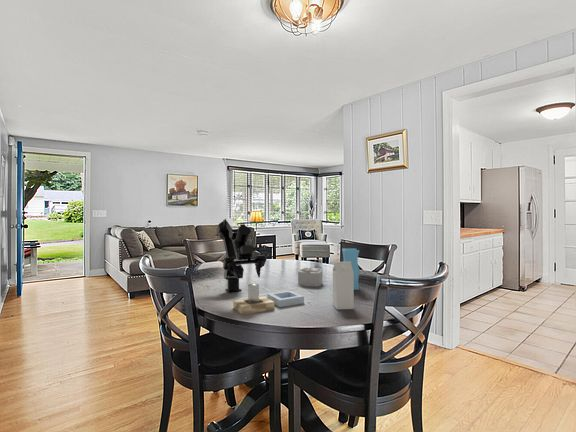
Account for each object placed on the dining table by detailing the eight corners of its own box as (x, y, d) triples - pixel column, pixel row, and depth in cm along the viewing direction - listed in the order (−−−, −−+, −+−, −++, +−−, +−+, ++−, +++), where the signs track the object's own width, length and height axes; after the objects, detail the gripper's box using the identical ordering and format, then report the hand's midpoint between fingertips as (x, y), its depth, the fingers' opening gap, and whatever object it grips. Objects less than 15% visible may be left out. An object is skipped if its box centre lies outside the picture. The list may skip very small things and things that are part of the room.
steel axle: (246, 308, 137) (246, 284, 137) (256, 306, 139) (256, 282, 139) (250, 310, 134) (250, 286, 133) (260, 309, 136) (260, 284, 135)
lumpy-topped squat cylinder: (318, 287, 173) (318, 270, 173) (295, 285, 178) (294, 269, 178) (323, 282, 183) (323, 267, 182) (301, 281, 188) (301, 265, 187)
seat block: (267, 300, 148) (267, 293, 148) (290, 296, 154) (290, 290, 154) (279, 307, 138) (279, 300, 138) (304, 303, 144) (304, 296, 144)
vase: (359, 289, 166) (359, 250, 166) (343, 289, 166) (343, 250, 166) (356, 286, 174) (356, 248, 174) (341, 286, 174) (341, 248, 174)
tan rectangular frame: (233, 307, 138) (233, 300, 138) (263, 302, 144) (263, 296, 144) (242, 314, 129) (242, 307, 128) (274, 309, 135) (274, 301, 135)
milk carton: (332, 304, 141) (332, 260, 140) (349, 304, 141) (348, 260, 141) (336, 310, 134) (336, 263, 133) (353, 309, 134) (353, 262, 134)
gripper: (224, 239, 142) (230, 268, 133) (264, 237, 150) (274, 265, 140) (220, 255, 150) (226, 284, 140) (259, 252, 157) (267, 279, 147)
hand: (249, 277), depth 142 cm, fingers open, 9 cm apart
